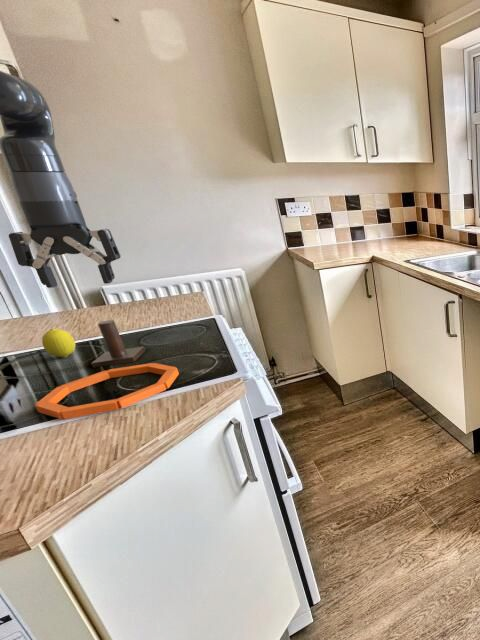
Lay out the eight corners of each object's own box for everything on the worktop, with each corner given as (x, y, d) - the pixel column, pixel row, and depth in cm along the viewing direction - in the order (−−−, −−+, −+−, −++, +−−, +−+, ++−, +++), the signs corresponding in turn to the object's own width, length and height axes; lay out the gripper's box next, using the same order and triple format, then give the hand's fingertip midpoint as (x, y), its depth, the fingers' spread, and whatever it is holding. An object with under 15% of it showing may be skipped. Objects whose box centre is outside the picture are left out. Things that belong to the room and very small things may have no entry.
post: (93, 368, 101) (76, 329, 97) (107, 357, 107) (92, 319, 104) (134, 362, 103) (119, 324, 100) (146, 351, 110) (132, 315, 107)
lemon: (65, 362, 105) (52, 332, 102) (43, 362, 105) (29, 332, 102) (86, 353, 110) (74, 324, 107) (65, 354, 110) (52, 325, 107)
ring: (18, 428, 76) (14, 420, 75) (75, 382, 94) (72, 375, 93) (159, 403, 84) (156, 395, 83) (186, 364, 101) (184, 357, 101)
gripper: (-20, 200, 71) (21, 293, 77) (89, 198, 77) (119, 285, 83) (8, 198, 78) (43, 284, 84) (106, 196, 83) (133, 277, 89)
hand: (81, 284), depth 83 cm, fingers open, 8 cm apart
